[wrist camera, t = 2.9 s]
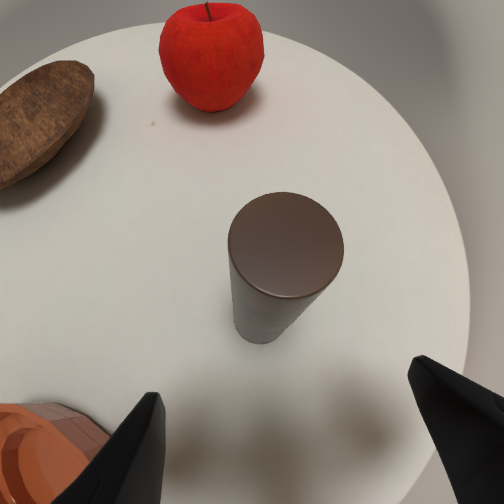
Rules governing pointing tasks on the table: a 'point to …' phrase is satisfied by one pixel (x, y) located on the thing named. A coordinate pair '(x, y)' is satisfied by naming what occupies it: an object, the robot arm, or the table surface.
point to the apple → (211, 54)
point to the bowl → (41, 116)
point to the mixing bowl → (43, 450)
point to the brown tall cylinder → (280, 262)
